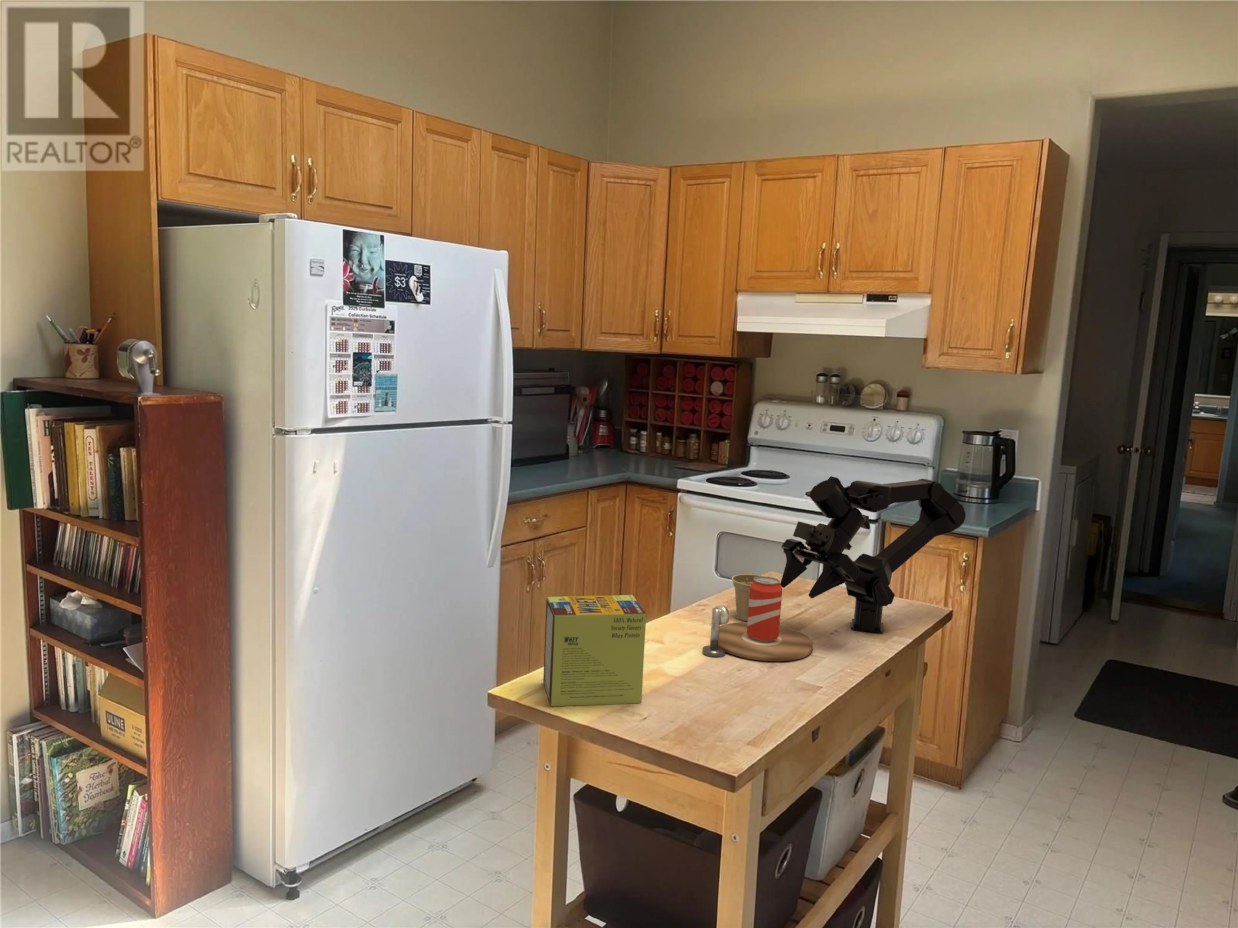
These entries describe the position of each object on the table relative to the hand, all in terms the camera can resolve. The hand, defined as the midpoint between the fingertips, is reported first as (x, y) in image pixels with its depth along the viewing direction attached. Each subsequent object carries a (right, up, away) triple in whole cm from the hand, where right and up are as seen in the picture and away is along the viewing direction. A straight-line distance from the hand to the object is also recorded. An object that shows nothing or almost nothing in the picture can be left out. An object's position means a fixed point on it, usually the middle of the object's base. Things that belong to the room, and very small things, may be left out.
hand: (795, 591), depth 182 cm
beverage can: (-7, -9, -2) cm, 12 cm away
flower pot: (-7, -8, +15) cm, 18 cm away
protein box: (-40, -13, -29) cm, 52 cm away
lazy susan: (-7, -10, -2) cm, 13 cm away
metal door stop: (-17, -11, -8) cm, 22 cm away
